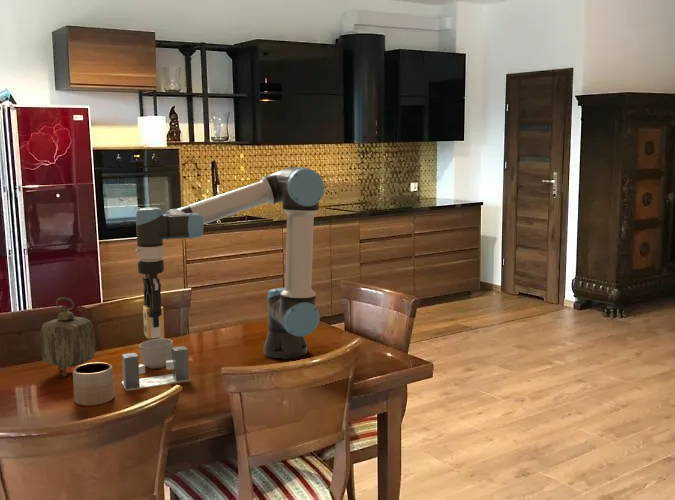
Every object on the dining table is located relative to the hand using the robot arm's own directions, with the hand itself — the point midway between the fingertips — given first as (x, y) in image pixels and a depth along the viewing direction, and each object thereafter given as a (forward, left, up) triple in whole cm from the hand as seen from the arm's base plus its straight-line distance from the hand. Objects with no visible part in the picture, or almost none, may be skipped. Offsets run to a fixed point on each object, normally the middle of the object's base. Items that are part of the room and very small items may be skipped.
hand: (153, 334), depth 215 cm
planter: (+19, +7, -15) cm, 25 cm away
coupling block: (0, 0, 0) cm, 0 cm away
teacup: (-5, -17, -15) cm, 23 cm away
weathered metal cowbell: (+23, -20, -15) cm, 34 cm away
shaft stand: (0, 0, -15) cm, 15 cm away
